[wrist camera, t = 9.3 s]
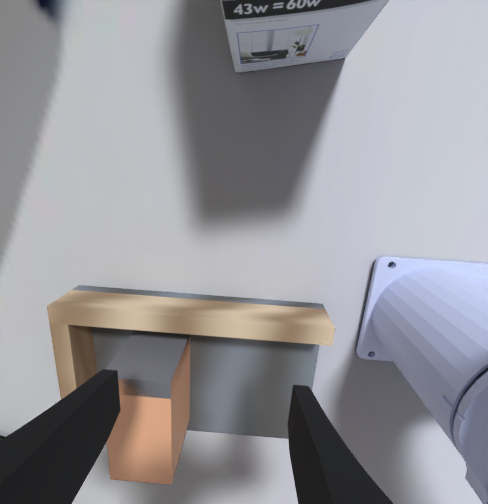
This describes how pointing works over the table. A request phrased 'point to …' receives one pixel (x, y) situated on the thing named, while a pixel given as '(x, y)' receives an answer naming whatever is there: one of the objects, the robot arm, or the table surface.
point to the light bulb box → (294, 30)
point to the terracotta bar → (150, 406)
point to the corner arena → (200, 349)
